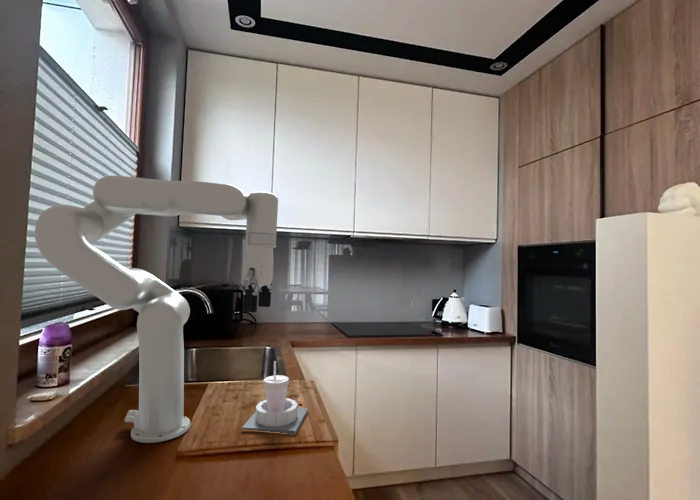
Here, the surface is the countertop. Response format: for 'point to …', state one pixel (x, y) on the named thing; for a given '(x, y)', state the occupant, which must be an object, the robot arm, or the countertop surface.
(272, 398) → the smoothie
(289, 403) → the holder
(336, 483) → the countertop surface
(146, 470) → the countertop surface
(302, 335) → the countertop surface
